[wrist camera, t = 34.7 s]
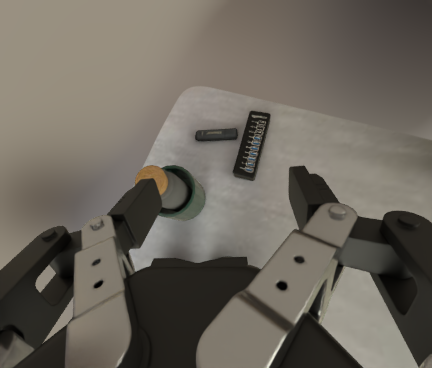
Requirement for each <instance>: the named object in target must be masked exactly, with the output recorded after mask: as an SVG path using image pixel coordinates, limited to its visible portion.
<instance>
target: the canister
mask: <svg viewBox="0 0 432 368" xmlns="http://www.w3.org/2000/svg"><path fill="white" fill-rule="evenodd" d="M161 169H164V170H166V171H167V172H171V173H173V174H174V175H176V176H177V177H178V178H180V179H181V180H182V181H183V182H185V183H186V184H187V185H188V186H189V187H191V188H192V189H193V192H192V196H191V199H190V201H189V202H188V204H187V205H186V207H184V208H183V209H182V210H181V211H179V212H176V211H173V210H170V209H167V208H164V207H162V208H161V210H160V212H159V214H158V215H159V216H162V217H166V218H170V219H174V220H178V221H186V220H190V219H192V218H194V217H196V216H197V215H198V214H199V213H200V212H201V210H202V209H203V207H204V204H205V192H204V189H203V187H202V185H201V184H200V183H199V182H198V181H197V180H196V179H195V178H194V177H193V176H192V175H191V174H190V173H189V171H187V170H186V169H184V168H183V167H180V166H175V165H172V166H165V167H163V168H161Z"/></svg>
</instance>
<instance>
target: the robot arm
mask: <svg viewBox="0 0 432 368" xmlns="http://www.w3.org/2000/svg"><path fill="white" fill-rule="evenodd" d="M289 200H290V204H291V206H292V209H293V212H294V215H295V218H296V221H297V224H298V227H299V230H300V231H299V230H297V229H294V230H293V231H292V232H291V233H290V234H289V236H288V237H287V238H286V239H285V241H284V242H283V243H282V244H281V246H280V247H279V248H278V249H277V251H276V252H275V253H274V254H273V256H272V257H271V258H270V259H269V261H268V262H267V263H266V264H265V265H264V267H263V268H262V269H259V268H257V267H254V266H251V265H248V262H247V257H222V258H218V259H214V260H209V261H205V262H201V263H194V262H190V261H185V260H181V259H177V258H155V259H153V261H152V264H151V266H150V267H146V268H143V269H141V270H139V271H137V272H136V271H135V268H134V265H133V261H132V258H131V255H130V253H129V250H130V249H137V248H140V247H141V245H142V244H143V242H144V240H145V238H146V236H147V234H148V232H149V231H150V229H151V227H152V225H153V223H154V221H155V219H156V218H157V216H158V214H159V212H160V210H161V208H162V199H161V196H160V193H159V190H158V187H157V184H156V181H155V180H154V179H153V178H149V179H140V180H139V182H138V183H137V184H136V185H135V186H134V187H133V188H132V189H130V190H129V191H127V192H126V193H125V194H124V196H123V197H122V198H121V199H120V200H119V201H118V203H117V204H116V205H115V206H114V207H113V208H112V209H111V210H110V212H109V213H108V214H107V215H102V216H98V217H95V218H93V219H91V220H90V221H88V222H87V223H86V224H85V225H84V226H83V227H82V230H80V231H77V232H73V233H69V232H68V231H67V229H66V228H65V227H64V226H57V227H53V228H51V229H48V230H47V231H45V232H43V233H41V234H40V235H39V236H37V237H36V238H35V239H34V240H33V241H32V242H31V243H30V244H29V245H28V246H26V247H25V248H24V249H23V250H22V251H21V252H20V253H19V254H18V255H17V256H16V257H14V258H13V259H12V260H11V261H10V262H9V263H8V264H7V265H6V266H5V267H4V268H3V269H1V270H0V368H363V367H362V366H361V365H360V364H359V363H358V362H357V361H356V360H355V359H354V358H353V357H352V356H351V355H350V354H349V353H348V352H347V351H346V350H345V349H344V348H343V347H342V346H341V345H340V344H339V343H338V342H337V341H336V340H335V339H334V338H333V337H332V336H331V335H330V334H329V333H328V331H327V330H326V329H325V328H324V327H323V326H322V325H321V323H322V321H323V318H324V316H325V313H326V311H327V308H328V304H329V302H330V299H331V297H332V294H333V292H334V290H335V288H336V286H337V284H338V282H339V280H340V277H341V275H342V273H343V271H344V269H345V267H351V268H355V269H359V270H363V271H367V272H369V273H370V275H371V277H372V278H373V280H374V282H375V284H376V286H377V288H378V290H379V292H380V294H381V296H382V298H383V300H384V301H385V303H386V305H387V307H388V309H389V311H390V313H391V315H392V317H393V319H394V321H395V323H396V324H397V326H398V328H399V330H400V332H401V334H402V336H403V338H404V340H405V342H406V344H407V346H408V347H409V349H410V351H411V353H412V355H413V357H414V359H415V361H416V363H417V365H418V367H419V368H432V223H431V222H430V221H429V220H427V219H425V218H424V217H422V216H419V215H417V214H414V213H410V212H406V211H390V212H388V213H386V214H385V215H384V217H383V220H377V219H370V218H364V217H360V216H358V215H357V213H356V211H355V210H354V209H353V208H351V207H349V206H347V205H345V204H341V203H339V201H338V200H337V198H336V197H335V195H334V194H333V192H332V191H331V189H330V188H329V186H328V185H327V184H326V182H325V181H324V179H323V178H322V177H320V176H319V175H317V174H309V172H308V171H307V169H306V167H305V166H294V167H290V168H289ZM48 265H50V266H51V267H52V268H53V270H54V271H55V272H56V274H55V276H54V277H53V278H52V279H51V281H50V282H49V283H48V284H47V286H46V287H45V288H44V289H43V290H42V292H41V293H40V292H39V291H38V290H37V289H36V286H35V283H36V280H37V278H38V276H39V275H40V274H41V273H42V272H43V270H45V268H46V267H47V266H48ZM73 296H74V299H73V317H72V319H71V320H70V321H69V323H68V324H67V325H66V326H65V327H63V328H62V329H61V330H59V331H58V332H57V333H56V334H54V335H53V336H52V337H51V338H50V339H48V340H47V341H45V342H44V340H45V339H46V337H47V336H48V334H49V333H50V331H51V330H52V328H53V327H54V325H55V324H56V322H57V320H58V319H59V317H60V316H61V314H62V313H63V311H64V310H65V308H66V307H67V305H68V304H69V302H70V301H71V299H72V298H73ZM43 342H44V343H43ZM42 343H43V344H42Z"/></svg>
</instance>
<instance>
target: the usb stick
mask: <svg viewBox="0 0 432 368" xmlns="http://www.w3.org/2000/svg"><path fill="white" fill-rule="evenodd" d="M237 136H238V135H237V129H236V128H234V129H218V130H200V131H197V132H196V135H195V139H196V140H197V141H216V140H236V139H237Z"/></svg>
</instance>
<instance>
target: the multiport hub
mask: <svg viewBox="0 0 432 368" xmlns="http://www.w3.org/2000/svg"><path fill="white" fill-rule="evenodd" d="M269 122H270V114H269V113H263V112H256V111H250V113H249V117H248V120H247V124H246V127H245V131H244V134H243V138H242V141H241V145H240V149H239V152H238V156H237V159H236V163H235V166H234V170H233V174H234V176H235V177H238V178H242V179H247V180H251V181H253V180H255V176H256V172H257V168H258V164H259V161H260V157H261V153H262V149H263V145H264V141H265V138H266V134H267V130H268V126H269Z"/></svg>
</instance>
